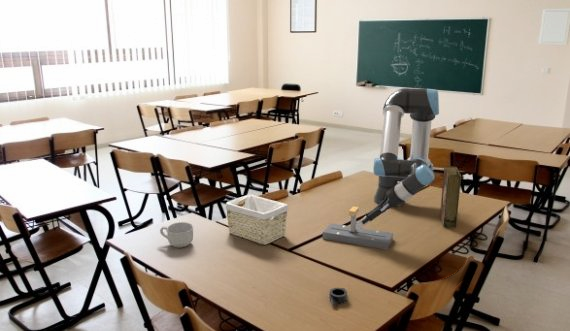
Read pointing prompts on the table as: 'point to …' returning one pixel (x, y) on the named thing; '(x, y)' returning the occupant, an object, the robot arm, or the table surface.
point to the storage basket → (257, 218)
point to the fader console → (358, 236)
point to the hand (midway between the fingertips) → (357, 226)
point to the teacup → (178, 234)
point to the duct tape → (338, 296)
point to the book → (450, 196)
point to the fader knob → (353, 218)
